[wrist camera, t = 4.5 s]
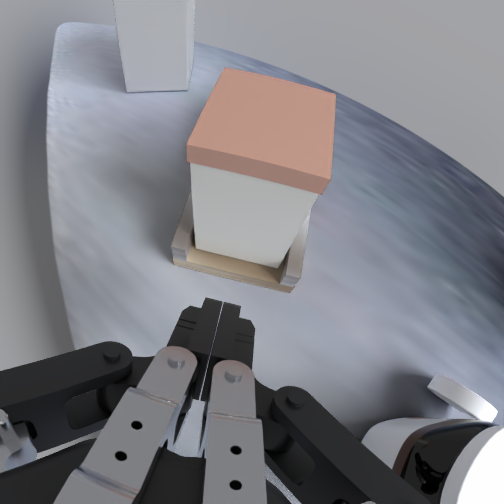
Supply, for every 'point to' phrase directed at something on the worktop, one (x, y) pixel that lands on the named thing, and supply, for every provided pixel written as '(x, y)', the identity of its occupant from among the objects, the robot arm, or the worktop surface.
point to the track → (234, 267)
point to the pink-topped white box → (258, 164)
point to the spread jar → (446, 449)
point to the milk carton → (155, 43)
